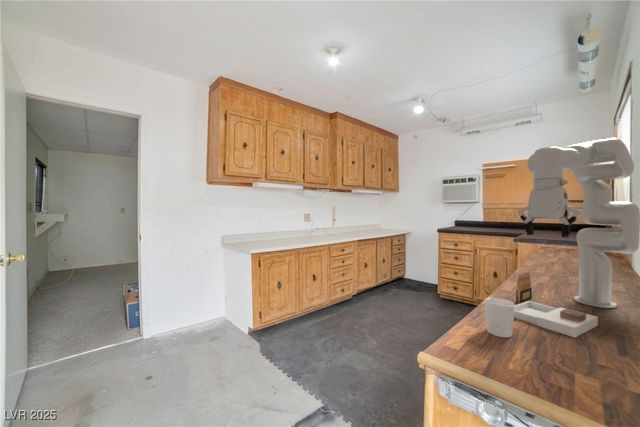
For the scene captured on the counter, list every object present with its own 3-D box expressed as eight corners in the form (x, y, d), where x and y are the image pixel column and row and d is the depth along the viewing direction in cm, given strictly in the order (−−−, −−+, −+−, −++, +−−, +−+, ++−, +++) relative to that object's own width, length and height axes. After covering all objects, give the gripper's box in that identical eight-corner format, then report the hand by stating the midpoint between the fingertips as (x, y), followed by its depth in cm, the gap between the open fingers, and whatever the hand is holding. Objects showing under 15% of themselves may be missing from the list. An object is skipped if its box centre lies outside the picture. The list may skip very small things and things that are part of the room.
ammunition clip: (520, 303, 113) (521, 275, 113) (515, 302, 115) (516, 274, 114) (531, 299, 119) (532, 271, 119) (526, 297, 120) (527, 271, 120)
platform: (560, 315, 100) (560, 307, 100) (597, 325, 91) (597, 316, 91) (536, 325, 91) (536, 316, 91) (575, 337, 83) (575, 327, 83)
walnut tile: (566, 314, 93) (566, 308, 93) (585, 319, 89) (586, 313, 89) (560, 317, 91) (560, 311, 91) (579, 322, 87) (579, 316, 87)
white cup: (509, 329, 88) (509, 299, 88) (518, 340, 81) (518, 307, 81) (482, 326, 91) (482, 296, 91) (488, 336, 84) (488, 304, 83)
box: (528, 307, 109) (528, 300, 109) (559, 315, 100) (559, 308, 100) (505, 315, 101) (505, 308, 100) (536, 324, 92) (536, 317, 92)
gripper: (586, 183, 85) (586, 237, 85) (524, 187, 100) (523, 233, 100) (576, 182, 81) (575, 238, 81) (513, 186, 96) (512, 234, 96)
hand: (546, 235), depth 91 cm, fingers open, 9 cm apart
